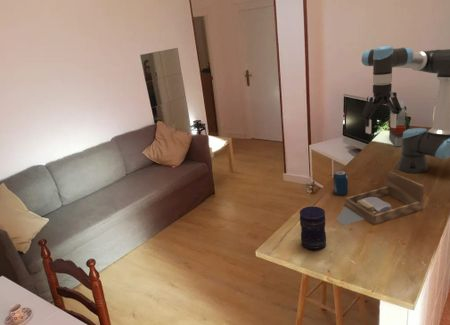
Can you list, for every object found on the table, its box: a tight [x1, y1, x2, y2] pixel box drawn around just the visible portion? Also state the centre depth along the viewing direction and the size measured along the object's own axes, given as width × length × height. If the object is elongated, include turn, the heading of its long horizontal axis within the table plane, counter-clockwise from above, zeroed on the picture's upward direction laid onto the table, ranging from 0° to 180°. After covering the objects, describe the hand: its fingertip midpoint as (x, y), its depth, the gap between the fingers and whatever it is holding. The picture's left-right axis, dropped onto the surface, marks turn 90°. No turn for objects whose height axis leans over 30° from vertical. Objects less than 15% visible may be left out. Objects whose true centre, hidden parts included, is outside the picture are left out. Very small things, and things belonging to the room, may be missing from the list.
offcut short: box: [356, 199, 374, 212], centre depth 156 cm, size 3×8×2 cm, turn 15°
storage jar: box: [299, 206, 327, 252], centre depth 137 cm, size 10×10×15 cm
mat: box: [336, 205, 366, 226], centre depth 158 cm, size 11×16×1 cm
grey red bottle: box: [388, 99, 406, 147], centre depth 234 cm, size 19×6×30 cm, turn 168°
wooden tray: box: [343, 170, 425, 226], centre depth 158 cm, size 26×20×12 cm
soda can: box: [332, 169, 349, 197], centre depth 176 cm, size 7×7×12 cm
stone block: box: [363, 197, 392, 214], centre depth 159 cm, size 12×5×10 cm
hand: (380, 130), depth 157 cm, fingers open, 13 cm apart
